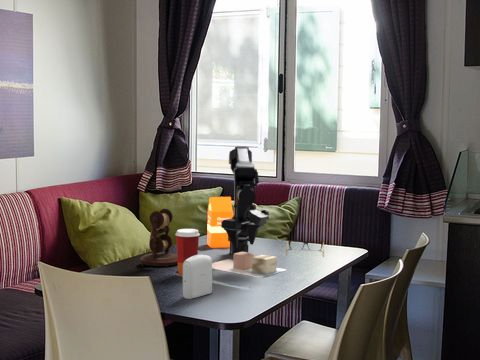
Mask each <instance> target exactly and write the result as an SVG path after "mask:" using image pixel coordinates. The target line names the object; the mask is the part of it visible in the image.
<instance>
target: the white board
mask: <svg viewBox="0 0 480 360" xmlns="http://www.w3.org/2000/svg"><path fill="white" fill-rule="evenodd" d="M212 270H216V271H221V272H222V271H224V272H227V273H228V272H229V273H232V274H238V275H242V276H243V275H244V276H250V277H254V278H259V279H260V278H264V277H268V276H273V275H275V274H276V275H277V274H279V273H282V272H285V271H287V269H285V268H280V267H277V271H276V272H273V273H269V274H262V273H257V272H252V268H251V269H247V270H241V269H236V268H233V259H231V258H228V259H227V258H226V259H224V260H220V261H219V260H218V261H216V262H212Z"/></svg>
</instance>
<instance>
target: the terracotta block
mask: <svg viewBox="0 0 480 360" xmlns="http://www.w3.org/2000/svg"><path fill="white" fill-rule="evenodd" d="M232 256H233V257H232V258H233V259H232V260H233V268H236V269H241V270H247V269H251V268H252V257H255V254H254V252H253V253H251V252H248V253H247V252H239V253H235V254H233V255H232Z"/></svg>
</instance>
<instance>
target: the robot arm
mask: <svg viewBox="0 0 480 360" xmlns="http://www.w3.org/2000/svg"><path fill="white" fill-rule="evenodd" d="M249 148H250V147H249V146H247V145H236V146H235V147H234V148H233V149H232V150H230V151H229V154H228V164H229V165H230V170H231V172H232V174H233V183H234V185H233V186H234V188H233V190H234V191H233V195H234V196H233V198H234V199H233V201H234V204H233V217H232V218H231V219H225V220H223V221H222V222H221V228H224V230H225V231H226V232H227V234H228V241H230V247H229V254H230V255H232V256H233V254H235V253H239V252H247V253H249V245H254V243H255V240H256V237H257V235H258V231H259V230H260V229H261V228H262V227H264V226H265V224H267V221H269V219H270V214H269V213H270V212H269V209H266V208H265V209H262V210H258V209H257V206H256V204H254V203H255V201H256V199H257V196H256V193H255V191H254V187H258V184H259V172H258V169H257V168H255V164H254V163H252V162H253V153H252V151H251V150H250V149H249ZM248 243H249V244H248Z"/></svg>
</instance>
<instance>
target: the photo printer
mask: <svg viewBox="0 0 480 360" xmlns="http://www.w3.org/2000/svg"><path fill="white" fill-rule="evenodd" d="M212 263H213V259H212V257H211V256H210V255H206V254H198V255H195V256H192V257H190V258H188V259H187V260H185V261H184V263H183V276H182V296H183V299H188V300H192V299H195V298H199V297H202V296H206V295H209V294H212V292H213V269H212Z"/></svg>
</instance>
